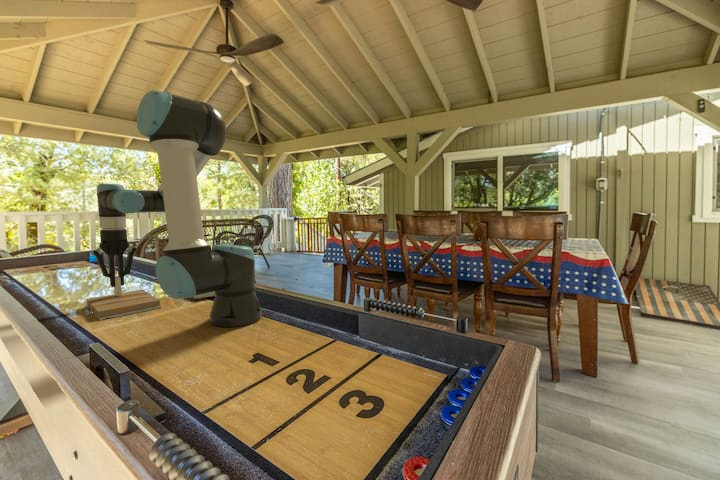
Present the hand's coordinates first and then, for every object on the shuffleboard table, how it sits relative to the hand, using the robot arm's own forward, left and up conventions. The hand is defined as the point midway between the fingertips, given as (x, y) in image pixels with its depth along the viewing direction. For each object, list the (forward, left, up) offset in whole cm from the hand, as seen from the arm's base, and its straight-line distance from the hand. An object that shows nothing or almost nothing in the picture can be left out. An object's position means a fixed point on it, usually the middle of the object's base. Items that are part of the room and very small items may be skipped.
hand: (118, 294), depth 120 cm
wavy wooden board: (-3, 0, -2) cm, 3 cm away
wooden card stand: (-6, 0, -3) cm, 7 cm away
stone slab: (-3, -25, -4) cm, 25 cm away
